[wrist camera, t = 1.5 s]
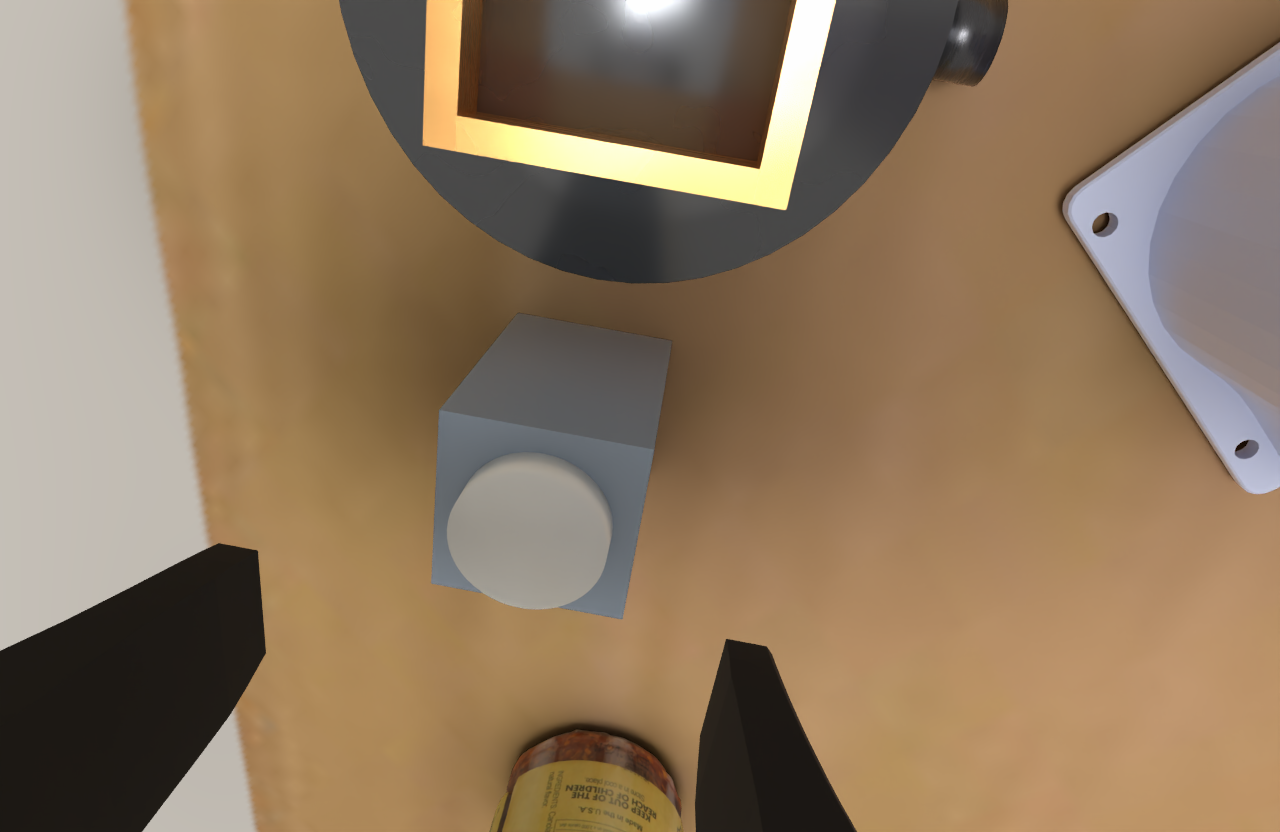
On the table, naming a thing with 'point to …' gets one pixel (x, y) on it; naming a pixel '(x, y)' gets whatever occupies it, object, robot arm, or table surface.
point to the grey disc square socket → (657, 115)
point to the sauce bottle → (588, 788)
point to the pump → (548, 466)
